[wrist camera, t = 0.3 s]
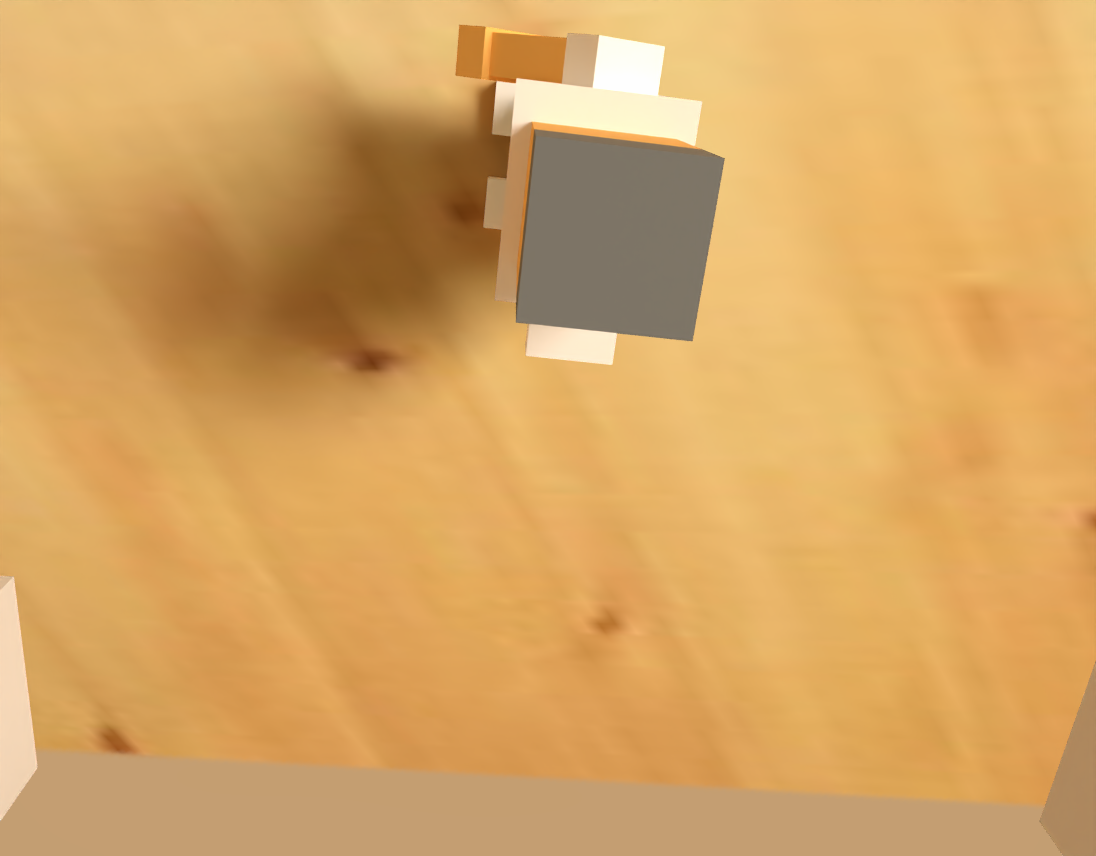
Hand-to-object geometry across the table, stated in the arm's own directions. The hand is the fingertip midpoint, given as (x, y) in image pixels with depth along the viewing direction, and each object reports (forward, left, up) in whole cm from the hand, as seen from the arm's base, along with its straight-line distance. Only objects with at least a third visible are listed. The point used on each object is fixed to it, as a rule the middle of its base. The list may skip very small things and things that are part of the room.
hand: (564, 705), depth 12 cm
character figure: (-5, 0, -28) cm, 28 cm away
